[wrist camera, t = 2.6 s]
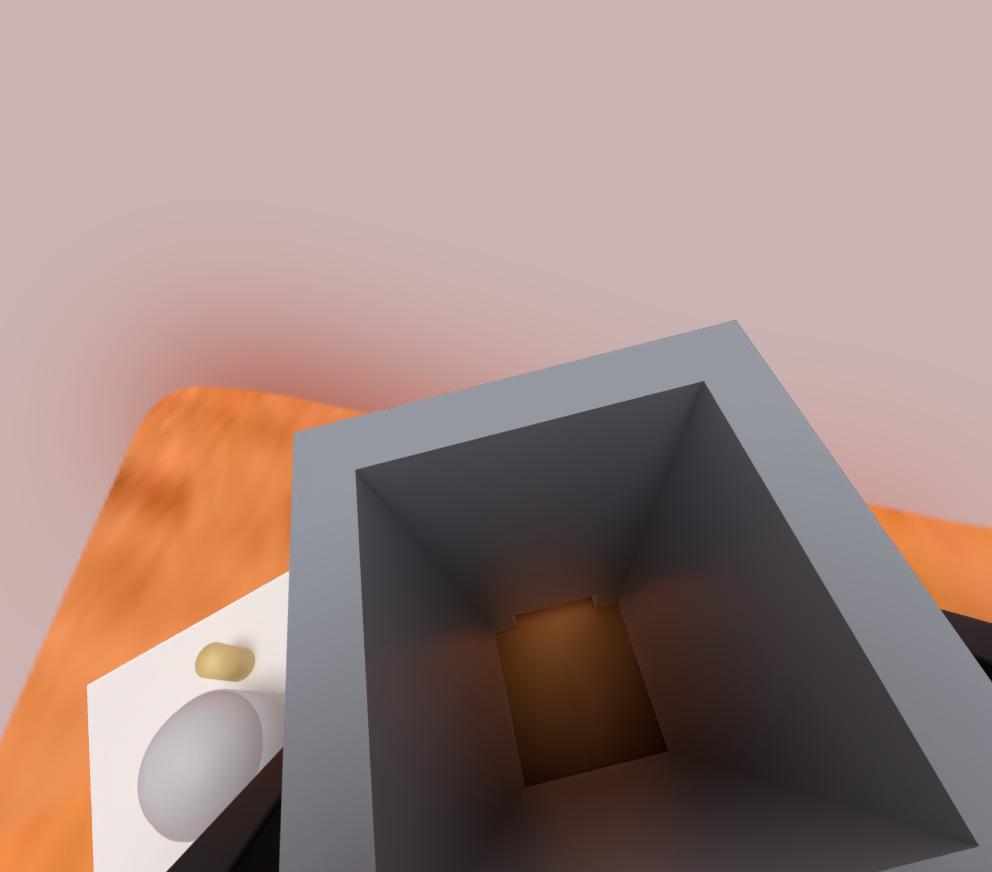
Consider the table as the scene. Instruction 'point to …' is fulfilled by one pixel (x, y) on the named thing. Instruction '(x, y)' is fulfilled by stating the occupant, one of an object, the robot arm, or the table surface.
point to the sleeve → (649, 622)
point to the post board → (153, 706)
